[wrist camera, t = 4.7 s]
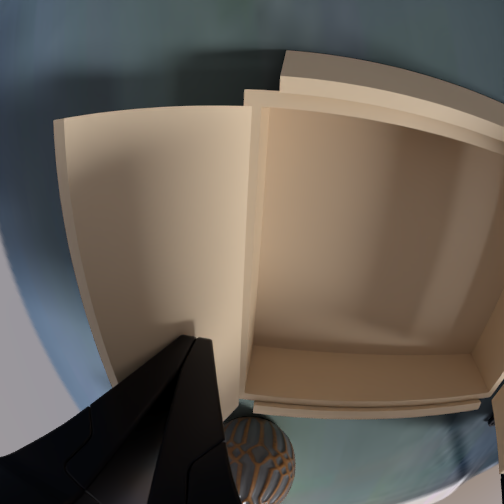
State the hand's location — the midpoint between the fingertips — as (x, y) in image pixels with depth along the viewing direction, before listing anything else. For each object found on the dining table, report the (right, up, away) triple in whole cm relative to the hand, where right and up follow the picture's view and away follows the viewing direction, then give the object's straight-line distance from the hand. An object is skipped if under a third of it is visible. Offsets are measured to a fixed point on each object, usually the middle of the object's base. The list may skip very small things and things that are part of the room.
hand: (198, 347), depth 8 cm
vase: (+2, -11, +14) cm, 18 cm away
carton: (+9, +2, +6) cm, 11 cm away
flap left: (+1, +1, +2) cm, 3 cm away
